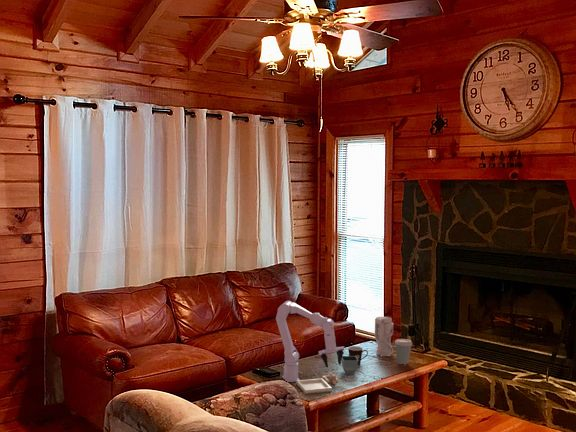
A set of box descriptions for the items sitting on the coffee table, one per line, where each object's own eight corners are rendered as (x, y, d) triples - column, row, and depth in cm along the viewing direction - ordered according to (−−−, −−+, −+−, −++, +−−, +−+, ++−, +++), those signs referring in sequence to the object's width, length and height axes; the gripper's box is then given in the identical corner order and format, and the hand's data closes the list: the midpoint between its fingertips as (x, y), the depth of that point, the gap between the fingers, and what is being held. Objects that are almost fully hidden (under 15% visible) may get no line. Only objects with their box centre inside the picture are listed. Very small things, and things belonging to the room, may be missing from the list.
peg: (327, 379, 347) (328, 372, 346) (331, 379, 347) (331, 372, 347) (329, 380, 345) (329, 373, 345) (332, 380, 346) (332, 373, 345)
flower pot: (340, 370, 362) (341, 355, 362) (355, 370, 363) (355, 355, 362) (342, 375, 354) (343, 360, 353) (357, 375, 354) (358, 360, 353)
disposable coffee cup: (390, 362, 379) (391, 339, 377) (402, 359, 385) (403, 336, 384) (402, 367, 370) (403, 343, 369) (415, 364, 377) (416, 340, 375)
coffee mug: (346, 365, 372) (347, 349, 371) (349, 361, 380) (349, 345, 379) (365, 367, 368) (366, 351, 367) (368, 363, 376) (368, 347, 376)
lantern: (382, 350, 403) (383, 313, 401) (395, 354, 395) (396, 316, 393) (370, 355, 394) (371, 316, 391) (383, 358, 386) (385, 319, 384)
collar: (322, 378, 348) (322, 370, 348) (333, 377, 351) (333, 369, 350) (328, 384, 339) (328, 376, 339) (340, 383, 341) (340, 375, 341)
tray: (296, 384, 339) (296, 380, 338) (321, 381, 343) (322, 378, 343) (305, 393, 324) (305, 390, 324) (331, 391, 329) (332, 387, 329)
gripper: (320, 345, 332) (323, 370, 332) (345, 340, 336) (348, 364, 336) (316, 342, 338) (319, 366, 339) (340, 337, 343) (343, 361, 343)
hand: (333, 365), depth 338 cm, fingers open, 7 cm apart
